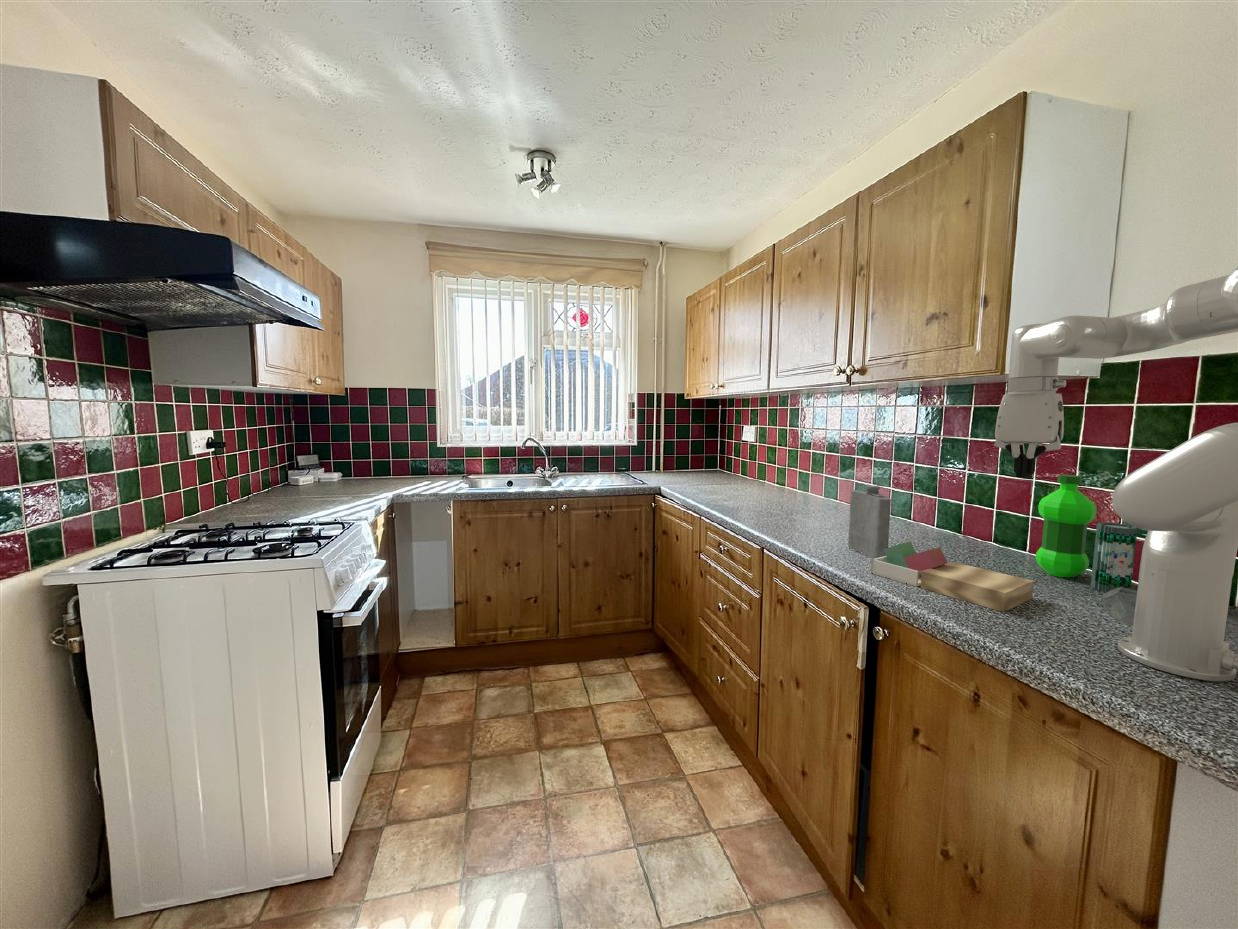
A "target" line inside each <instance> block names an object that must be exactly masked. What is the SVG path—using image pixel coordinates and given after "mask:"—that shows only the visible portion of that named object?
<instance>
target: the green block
mask: <svg viewBox="0 0 1238 929" xmlns="http://www.w3.org/2000/svg"><path fill="white" fill-rule="evenodd" d="M883 550H884V552H885V554H886V556H887V559H888V561H889V563H890V564H893V565H897V566H901V567H905V568H908V566H907V564H906V562H905V560H904V557H908V556H911V555H914V554H917V552H916V549H915V547H914V545H913V544H912V542H911V541H907V542H902V543H900V544H895V545H892V546H888V548H886V549H883Z"/></svg>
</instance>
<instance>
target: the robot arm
mask: <svg viewBox="0 0 1238 929" xmlns="http://www.w3.org/2000/svg"><path fill="white" fill-rule="evenodd" d="M1237 332H1238V266H1237V267H1235V268H1234V269H1233V270H1232V271H1231V272H1230V273H1229V274H1227V275H1224V276H1220V277H1215V278H1210V279H1208V280H1204V281H1200V282H1196V283H1191V284H1189V285H1184V286H1181V287H1178V288H1177V289H1175V290H1174V291H1172V292H1171V293H1170V294H1169V296H1168V298H1167V299H1166V301H1165V303H1163V304H1161V305H1158V306H1156V307H1151V308H1148V309H1144V310H1140V311H1136V312H1132V313H1128V314H1124V315H1123V314H1122V315H1119V316H1114V317H1113V316H1112V317H1107V316H1090V315H1068V316H1063V317H1060V318H1056V319H1054V320H1050V321H1047V322H1043V323H1034V324H1033V323H1032V324H1025V325H1022V326H1019V327H1016V328H1015V329H1014V331H1013V332H1012V335H1011V344H1010V345H1011V346H1010V357H1009V371H1008V378H1007V379H1008V380H1007V381H1008V383H1007V390H1006V391H1007V394H1003V396H1002V398H1001V401H1000V404H999V405H1000V406H999V408H998V412H997V417H996V423H995V428H994V429H995V431H994V436H995V441H994V444H993V445H994V446H995V447H996V448H999V449H1003V450H1007V451H1008V452H1009V454H1011V455H1012V457H1013V458H1014V462H1013V473H1015V477H1016V478H1023V479H1024V478H1025V479H1029V478H1032V475H1034V474H1035V471H1036V463H1037V462H1036V460H1037V458H1039V457H1040V456H1041V455H1043V454H1045V452H1049V451H1056V450H1061V448H1062V444H1061V441H1063V438H1064V431H1065V421H1064V420H1065V416H1064V402H1063V395H1062V393H1057V391H1058V390H1059V389H1060V388H1065V387H1066V386H1067V380H1066V379H1063V380H1062V379H1059V377H1058V373H1059V361H1060V358H1065V359H1066V358H1068V359H1069V358H1070V359H1095V360H1096V359H1097V360H1098V359H1099V360H1101V359H1102V360H1103V359H1111V358H1117V357H1123V356H1129V355H1130V356H1131V355H1134V354H1135V355H1136V354H1141V353H1147V352H1151V351H1156V350H1161V349H1164V348H1168V347H1169V348H1170V347H1172V346H1177V345H1182V344H1184V343H1186V342H1189V341H1190V342H1191V341H1194V340H1199V339H1200V340H1201V339H1205V338H1212V337H1216V336H1221V335H1227V334H1232V333H1237ZM1025 444H1028V448H1027V452H1025ZM1043 444H1044V445H1043ZM1111 501H1112V505H1113V506H1112V507H1113V510H1114V512H1115V513H1116V515H1117V516H1118V517H1119V518H1120V519H1121V520H1123V521H1124V522H1125V523H1126V524H1127V525H1129V526H1134V527H1137V528H1138V529H1141V530H1145V531H1147V533H1146V535H1145V538H1144V542H1143V545H1142V546H1143V547H1142V550H1141V559H1140V565H1139V573H1138V583H1137V590H1136V591H1137V598H1136V607H1135V615H1134V624H1133V625H1132V626H1133V627H1132V634H1131V636H1127V637H1122V638H1120V639H1118V640H1117V646H1116V647H1117V649H1118V650H1119V652H1121V653H1122V654H1123V655H1125V656H1126V657H1128V658H1130V659H1132V660H1133V661H1136V662H1137V663H1139V664H1143V665H1145V666H1148V667H1150V668H1153V669H1156V670H1159V671H1161V672H1166V673H1168V674H1173V675H1177V676H1181V677H1183V678H1184V677H1185V678H1189V679H1190V678H1191V679H1195V680H1201V681H1209V682H1229V681H1233V680H1234V679H1236V677H1237V671H1238V654H1237V653H1235V651H1232V650H1230V645H1231V643H1230V642H1228V641H1224V640H1225V634H1226V627H1227V626H1226V625H1227V619H1228V612H1229V606H1230V597H1231V590H1232V584H1233V583H1232V582H1233V577H1234V572H1235V567H1236V566H1235V565H1236V558H1237V552H1238V422H1232V423H1227V424H1223V425H1219V426H1216V427H1213V428H1210V429H1208V430H1205V431H1203V432H1201V433H1199V434H1197V435H1195V436H1193V437H1191V438H1189V439H1188V440H1186V441H1184V442H1181V444H1179V445H1178V446H1177V445H1176V447H1174V448H1172V449H1170V450H1168V451H1167V452H1165V453H1163V454H1161V455H1160V456H1158V457H1156V458H1154V459H1153V460H1151V461H1149V462H1148V463H1146V464H1143V465H1142V466H1141V467H1138V468H1137V469H1135V470H1134V471H1132V472H1130V473H1129V474H1128V475H1126V476H1125V477H1123V479H1122V480H1120V482H1119V483H1118V484H1117V485H1116V486H1115V488H1114V490H1113V493H1112V498H1111Z"/></svg>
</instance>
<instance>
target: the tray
mask: <svg viewBox="0 0 1238 929" xmlns="http://www.w3.org/2000/svg"><path fill="white" fill-rule="evenodd" d="M870 564H871V565H870V566H871V567H870V574H871V573H873V574H872V575H875V574H876V576H878V575H879V577H882V578H885V577H887V578H886V579H888V578H890V579H889V580H892V579H893V581H896V582H899V583H902V584H906V583H907V584H906V585H909V586H913V587H921V577H922V571H916V570H912V569H909V568H905V567H901V566H897V565H893V564H890V563H889V561H888V559H887V556H883V557H879V558H875V559H871V563H870ZM923 571H924V570H923Z"/></svg>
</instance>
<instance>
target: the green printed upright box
mask: <svg viewBox="0 0 1238 929" xmlns="http://www.w3.org/2000/svg"><path fill="white" fill-rule="evenodd" d="M1138 530H1139V528H1137V527H1134V526H1132V525H1130V524H1122V523H1115V522H1097V523H1096V531H1095V540H1094V550H1093V561H1092V568H1091V570H1092V571H1091V580H1090V588H1092V589H1093V588H1094V589H1093V590H1096V589H1098V590H1101V591H1100V592H1102V591H1104V592H1103V593H1105V592H1109V591H1110V590H1113V589H1116V588H1118V587H1123V588H1125V589H1130V590H1132V581H1133V573H1134V565H1135V564H1134V563H1135V556H1136V555H1135V554H1136V547H1137V538H1138ZM1098 590H1097V591H1098Z"/></svg>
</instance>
